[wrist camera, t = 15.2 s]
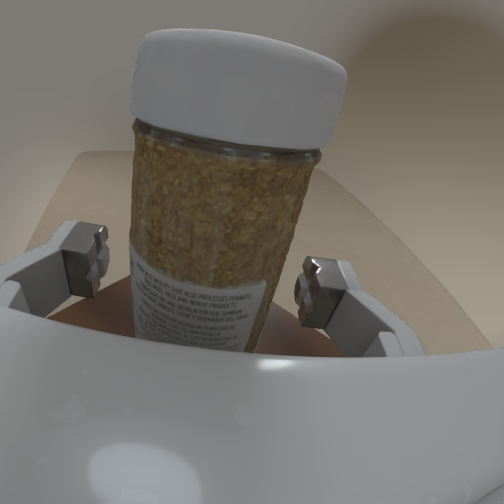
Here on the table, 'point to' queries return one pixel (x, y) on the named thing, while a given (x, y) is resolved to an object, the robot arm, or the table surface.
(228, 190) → the sprinkles bottle
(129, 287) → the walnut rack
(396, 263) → the table surface
